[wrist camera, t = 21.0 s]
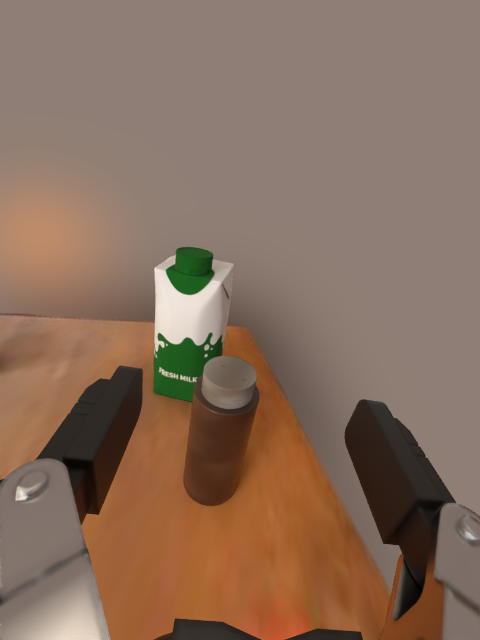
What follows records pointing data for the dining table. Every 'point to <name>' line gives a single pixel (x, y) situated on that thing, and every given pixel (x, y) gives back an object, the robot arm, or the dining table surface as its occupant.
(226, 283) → the milk carton
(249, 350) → the dining table surface
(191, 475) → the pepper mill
